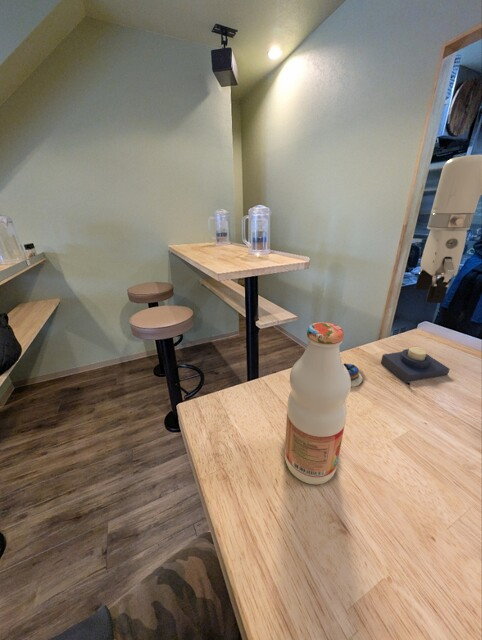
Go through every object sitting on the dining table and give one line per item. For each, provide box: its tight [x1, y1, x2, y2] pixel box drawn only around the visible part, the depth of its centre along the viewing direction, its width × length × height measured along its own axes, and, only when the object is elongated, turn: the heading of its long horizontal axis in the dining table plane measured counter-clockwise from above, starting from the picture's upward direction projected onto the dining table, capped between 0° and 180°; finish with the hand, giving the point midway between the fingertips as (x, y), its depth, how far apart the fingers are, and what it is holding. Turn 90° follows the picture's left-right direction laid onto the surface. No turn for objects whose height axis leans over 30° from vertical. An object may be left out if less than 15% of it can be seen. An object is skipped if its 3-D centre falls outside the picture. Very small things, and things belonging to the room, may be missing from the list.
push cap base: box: [380, 348, 451, 386], centre depth 69 cm, size 12×10×5 cm
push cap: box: [408, 346, 428, 361], centre depth 68 cm, size 4×4×2 cm
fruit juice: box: [284, 321, 352, 485], centre depth 41 cm, size 9×9×28 cm
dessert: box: [343, 362, 363, 388], centre depth 68 cm, size 8×7×6 cm
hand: (427, 295), depth 63 cm, fingers open, 9 cm apart
